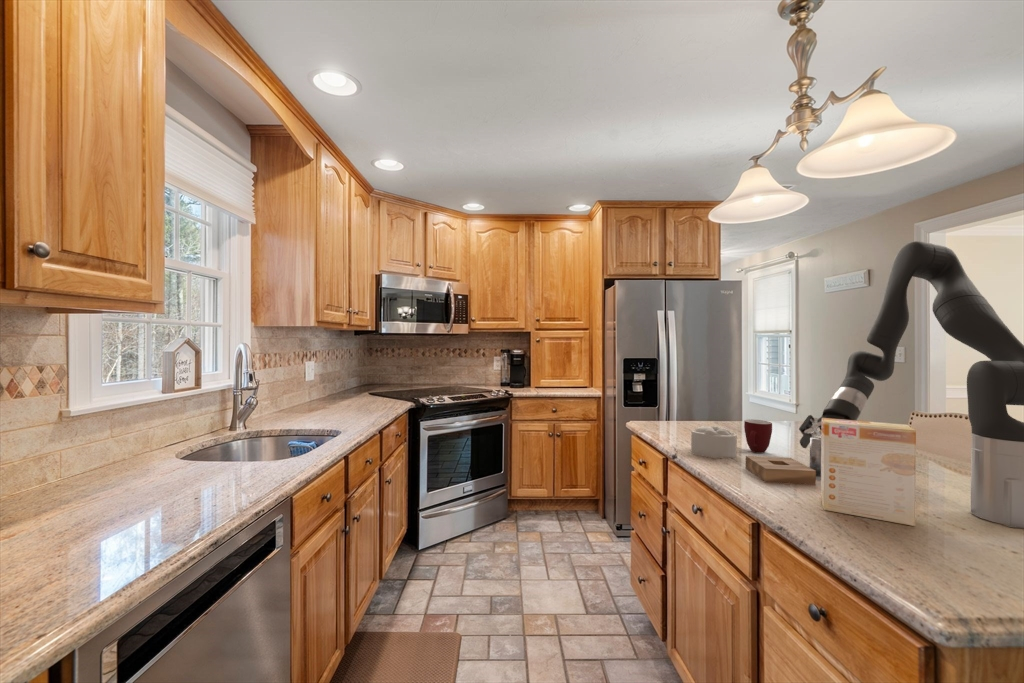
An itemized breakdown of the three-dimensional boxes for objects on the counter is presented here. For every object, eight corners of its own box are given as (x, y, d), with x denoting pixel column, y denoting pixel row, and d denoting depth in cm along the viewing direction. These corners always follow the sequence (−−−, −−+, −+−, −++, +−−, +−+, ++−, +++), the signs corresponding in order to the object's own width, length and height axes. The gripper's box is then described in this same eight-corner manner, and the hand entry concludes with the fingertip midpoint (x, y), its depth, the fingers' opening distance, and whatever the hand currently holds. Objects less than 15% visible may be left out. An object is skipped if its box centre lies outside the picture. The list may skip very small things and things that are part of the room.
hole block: (815, 486, 106) (815, 470, 106) (765, 483, 107) (765, 468, 107) (790, 471, 117) (790, 457, 117) (745, 469, 119) (745, 455, 119)
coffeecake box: (906, 515, 89) (907, 424, 89) (916, 527, 83) (917, 429, 83) (819, 500, 97) (820, 416, 97) (822, 510, 91) (824, 421, 91)
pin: (825, 476, 112) (826, 440, 112) (813, 476, 113) (814, 439, 112) (818, 473, 115) (819, 437, 115) (807, 472, 115) (807, 436, 115)
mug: (768, 457, 132) (769, 426, 132) (740, 453, 137) (740, 423, 137) (773, 451, 140) (773, 421, 140) (746, 447, 145) (746, 418, 145)
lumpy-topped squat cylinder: (697, 447, 144) (698, 422, 144) (739, 454, 135) (740, 428, 135) (688, 453, 136) (689, 427, 136) (732, 461, 127) (733, 433, 127)
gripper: (813, 394, 124) (786, 435, 120) (868, 401, 111) (841, 447, 107) (824, 411, 126) (798, 452, 122) (880, 419, 113) (853, 466, 109)
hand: (818, 450), depth 114 cm, fingers open, 8 cm apart
